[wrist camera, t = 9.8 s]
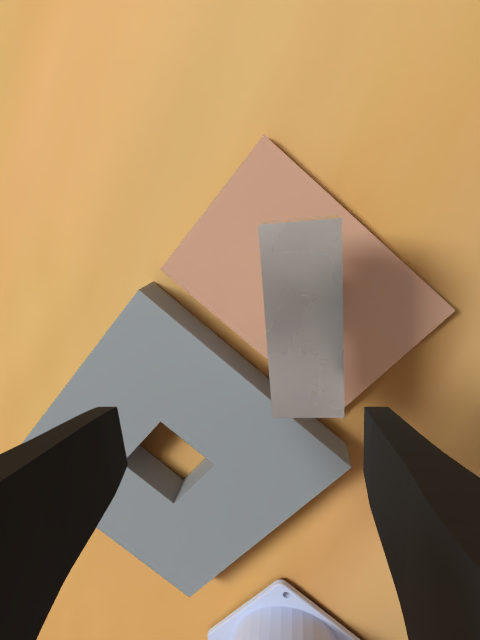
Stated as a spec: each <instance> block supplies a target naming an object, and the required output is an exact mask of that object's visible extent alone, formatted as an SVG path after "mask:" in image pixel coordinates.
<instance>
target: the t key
mask: <svg viewBox="0 0 480 640" xmlns="http://www.w3.org/2000/svg"><path fill="white" fill-rule="evenodd" d="M258 231H259V245H260V258H261V271H262V285H263V298H264V311H265V325H266V338H267V352H268V365H269V378H270V392H271V405H272V418H345V414H344V339H343V263H342V218H341V217H339V216H337V215H327V216H315V217H304V218H292V219H281V220H269V221H264V222H262V223H260V224H259V225H258Z"/></svg>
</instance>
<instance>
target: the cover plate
mask: <svg viewBox="0 0 480 640" xmlns="http://www.w3.org/2000/svg"><path fill="white" fill-rule="evenodd" d="M96 407H117V409H118V414H119V419H120V425H121V430H122V435H123V441H124V446H125V451H126V456H127V462H128V466H127V468H126V471H125V473H124V476H123V478H122V481H121V483H120V485H119V487H118V490H117V492H116V494H115V496H114V498H113V500H112V501H111V503H110V505H109V507H108V508H107V510H106V512H105V513H104V515H103V517H102V518H101V520H100V522H99V524H98V525H97V528H98V529H99V530H101V531H102V532H103V533H105V534H106V535H107V536H109V537H110V538H111V539H113V540H114V541H115V542H117V543H118V544H119V545H121V546H122V547H123V548H125V549H126V550H127V551H129V552H130V553H131V554H133V555H134V556H135V557H137V558H138V559H139V560H140V561H142V562H143V563H144V564H146V565H147V566H148V567H150V568H151V569H152V570H154V571H155V572H156V573H158V574H159V575H160V576H162V577H163V578H164V579H166V580H167V581H168V582H170V583H171V584H172V585H174V586H175V587H176V588H178V589H179V590H180V591H182V592H183V593H184V594H186V595H187V596H188V597H190V596H192V595H193V594H194V593H195V592H197V591H198V590H199V589H200V588H202V587H203V586H204V585H205V584H207V583H208V582H209V581H210V580H212V579H213V578H214V577H215V576H217V575H218V574H219V573H220V572H222V571H223V570H224V569H225V568H227V567H228V566H229V565H230V564H232V563H233V562H234V561H235V560H237V559H238V558H239V557H240V556H242V555H243V554H244V553H245V552H247V551H248V550H249V549H250V548H252V547H253V546H254V545H255V544H257V543H258V542H259V541H260V540H262V539H263V538H264V537H265V536H267V535H268V534H269V533H270V532H272V531H273V530H274V529H275V528H277V527H278V526H279V525H280V524H282V523H283V522H284V521H285V520H287V519H288V518H289V517H290V516H292V515H293V514H294V513H295V512H297V511H298V510H299V509H300V508H302V507H303V506H304V505H305V504H307V503H308V502H309V501H310V500H312V499H313V498H314V497H315V496H317V495H318V494H319V493H320V492H322V491H323V490H324V489H325V488H327V487H328V486H329V485H330V484H332V483H333V482H334V481H335V480H337V479H338V478H339V477H340V476H342V475H343V474H344V473H345V472H347V471H348V470H349V469H350V468H352V467H351V462H350V458H349V453H348V448H347V444H346V443H345V442H344V441H342V440H341V439H340V438H339V437H338V436H336V435H335V434H334V433H333V432H332V431H330V430H329V429H328V428H327V427H326V426H325V425H323V424H322V423H321V422H320V421H319V420H317V419H316V418H272V405H271V392H270V379H269V378H267V377H266V376H265V375H264V374H263V373H262V372H260V371H259V370H258V369H257V368H256V367H254V366H253V365H252V364H251V363H250V362H248V361H247V360H246V359H245V358H244V357H242V356H241V355H240V354H239V353H238V352H237V351H235V350H234V349H233V348H232V347H231V346H229V345H228V344H227V343H226V342H225V341H223V340H222V339H221V338H220V337H219V336H218V335H216V334H215V333H214V332H213V331H212V330H210V329H209V328H208V327H207V326H206V325H204V324H203V323H202V322H201V321H200V320H199V319H197V318H196V317H195V316H194V315H193V314H191V313H190V312H189V311H188V310H187V309H185V308H184V307H183V306H182V305H181V304H179V303H178V302H177V301H176V300H175V299H174V298H172V297H171V296H170V295H169V294H168V293H166V292H165V291H164V290H163V289H162V288H160V287H159V286H158V285H157V284H156V283H155V282H152V283H150V284H148V285H146V286H145V287H143V288H141V289H139V290H138V291H137V293H136V294H135V295H134V297H133V298H132V299H131V301H130V302H129V303H128V305H127V306H126V307H125V309H124V310H123V311H122V313H121V314H120V315H119V316H118V318H117V319H116V320H115V322H114V323H113V324H112V326H111V327H110V328H109V330H108V331H107V332H106V334H105V335H104V336H103V337H102V339H101V340H100V341H99V343H98V344H97V345H96V347H95V348H94V349H93V351H92V352H91V353H90V355H89V356H88V357H87V359H86V360H85V361H84V362H83V364H82V365H81V366H80V368H79V369H78V370H77V372H76V373H75V374H74V376H73V377H72V378H71V380H70V381H69V382H68V384H67V385H66V386H65V387H64V389H63V390H62V391H61V393H60V394H59V395H58V397H57V398H56V399H55V401H54V402H53V403H52V405H51V406H50V407H49V408H48V410H47V411H46V412H45V414H44V415H43V416H42V418H41V419H40V420H39V422H38V423H37V424H36V426H35V427H34V428H33V430H32V431H31V432H30V433H29V435H28V436H27V437H26V439H25V440H24V441H23V443H25V442H27V441H29V440H31V439H33V438H35V437H37V436H39V435H41V434H43V433H45V432H47V431H48V430H50V429H52V428H54V427H56V426H58V425H60V424H62V423H64V422H66V421H68V420H70V419H72V418H74V417H76V416H78V415H80V414H82V413H84V412H86V411H89V410H91V409H94V408H96ZM160 422H162V423H163V424H164V425H165V426H167V427H168V428H169V429H170V430H172V431H173V432H174V433H175V434H177V435H178V436H179V437H180V438H182V439H183V440H184V441H185V442H187V443H188V444H189V445H190V446H192V447H193V448H194V449H195V450H197V451H198V452H199V453H200V454H202V455H203V456H204V457H205V459H204V460H203V461H202V462H201V463H200V464H199V465H198V466H197V467H196V468H195V469H194V470H193V471H192V472H191V473H190V474H189V475H188V476H187V477H186V478H185V479H184V480H183V479H182V478H181V477H180V476H178V475H177V474H176V473H175V472H173V471H172V470H171V469H170V468H168V467H167V466H166V465H164V464H163V463H162V462H161V461H159V460H158V459H157V458H156V457H154V456H153V455H152V454H150V453H149V452H148V451H147V450H145V449H144V448H143V447H142V446H140V445H139V444H140V443H141V442H142V441H143V440H144V439H145V438H146V437H147V436H148V435H149V433H150V432H151V431H152V430H153V429H154V428H155V427H156V426H157V425H158V424H159V423H160ZM23 443H22V444H23Z"/></svg>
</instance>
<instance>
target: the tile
mask: <svg viewBox="0 0 480 640" xmlns="http://www.w3.org/2000/svg"><path fill="white" fill-rule="evenodd" d="M327 215H337V216H339V217H341V218H342V263H343V339H344V408H345V407H346V406H347V405H348V404H349V403H350V402H352V401H353V400H354V399H355V398H356V397H357V396H358V395H360V394H361V393H362V392H363V391H364V390H365V389H366V388H368V387H369V386H370V385H371V384H372V383H373V382H374V381H376V380H377V379H378V378H379V377H380V376H381V375H382V374H384V373H385V372H386V371H387V370H388V369H389V368H390V367H392V366H393V365H394V364H395V363H396V362H397V361H398V360H400V359H401V358H402V357H403V356H404V355H405V354H406V353H408V352H409V351H410V350H411V349H412V348H413V347H414V346H416V345H417V344H418V343H419V342H420V341H421V340H422V339H424V338H425V337H426V336H427V335H428V334H429V333H430V332H432V331H433V330H434V329H435V328H436V327H437V326H438V325H440V324H441V323H442V322H443V321H444V320H445V319H446V318H448V317H449V316H450V315H451V314H452V313H453V312H454V311H456V310H455V309H454V308H453V307H451V306H450V305H449V304H448V303H447V302H446V301H445V300H444V299H443V298H442V297H441V296H439V295H438V294H437V293H436V292H435V291H434V290H433V289H432V288H431V287H430V286H429V285H428V284H426V283H425V282H424V281H423V280H422V279H421V278H420V277H419V276H418V275H417V274H416V273H414V272H413V271H412V270H411V269H410V268H409V267H408V266H407V265H406V264H405V263H404V262H402V261H401V260H400V259H399V258H398V257H397V256H396V255H395V254H394V253H393V252H392V251H390V250H389V249H388V248H387V247H386V246H385V245H384V244H383V243H382V242H381V241H380V240H378V239H377V238H376V237H375V236H374V235H373V234H372V233H371V232H370V231H369V230H368V229H366V228H365V227H364V226H363V225H362V224H361V223H360V222H359V221H358V220H357V219H356V218H354V217H353V216H352V215H351V214H350V213H349V212H348V211H347V210H346V209H345V208H344V207H342V206H341V205H340V204H339V203H338V202H337V201H336V200H335V199H334V198H333V197H332V196H331V195H329V194H328V193H327V192H326V191H325V190H324V189H323V188H322V187H321V186H320V185H319V184H317V183H316V182H315V181H314V180H313V179H312V178H311V177H310V176H309V175H308V174H307V173H305V172H304V171H303V170H302V169H301V168H300V167H299V166H298V165H297V164H296V163H295V162H293V161H292V160H291V159H290V158H289V157H288V156H287V155H286V154H285V153H284V152H283V151H281V150H280V149H279V148H278V147H277V146H276V145H275V144H274V143H273V142H272V141H271V140H269V139H268V138H267V137H266V136H265V135H263V136H262V138H261V139H260V140H259V142H258V143H257V144H256V145H255V147H254V148H253V149H252V151H251V152H250V153H249V155H248V156H247V157H246V159H245V160H244V161H243V162H242V164H241V165H240V166H239V168H238V169H237V170H236V172H235V173H234V174H233V175H232V177H231V178H230V179H229V181H228V182H227V183H226V185H225V186H224V187H223V189H222V190H221V191H220V192H219V194H218V195H217V196H216V198H215V199H214V200H213V202H212V203H211V204H210V205H209V207H208V208H207V209H206V211H205V212H204V213H203V215H202V216H201V217H200V218H199V220H198V221H197V222H196V224H195V225H194V226H193V228H192V229H191V230H190V232H189V233H188V234H187V235H186V237H185V238H184V239H183V241H182V242H181V243H180V245H179V246H178V247H177V248H176V250H175V251H174V252H173V254H172V255H171V256H170V258H169V259H168V260H167V261H166V263H165V264H164V265H163V267H162V268H161V270H162V271H163V272H164V273H165V274H166V275H168V276H169V277H170V278H171V279H172V280H173V281H175V282H176V283H177V284H178V285H179V286H181V287H182V288H183V289H184V290H185V291H186V292H188V293H189V294H190V295H191V296H192V297H194V298H195V299H196V300H197V301H198V302H199V303H201V304H202V305H203V306H204V307H205V308H207V309H208V310H209V311H210V312H211V313H212V314H214V315H215V316H216V317H217V318H218V319H220V320H221V321H222V322H223V323H224V324H225V325H227V326H228V327H229V328H230V329H231V330H233V331H234V332H235V333H236V334H237V335H238V336H240V337H241V338H242V339H243V340H244V341H246V342H247V343H248V344H249V345H250V346H251V347H253V348H254V349H255V350H256V351H257V352H259V353H260V354H261V355H262V356H263V357H264V358H266V359H267V360H268V352H267V338H266V325H265V311H264V298H263V285H262V271H261V258H260V245H259V231H258V225H259V224H260V223H262V222H264V221H269V220H281V219H292V218H304V217H315V216H327Z"/></svg>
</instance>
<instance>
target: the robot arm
mask: <svg viewBox="0 0 480 640" xmlns="http://www.w3.org/2000/svg"><path fill="white" fill-rule="evenodd" d="M127 466H128V462H127V456H126V451H125V446H124V441H123V435H122V430H121V425H120V419H119V414H118V409H117V407H96V408H94V409H91V410H89V411H86V412H84V413H82V414H80V415H78V416H76V417H74V418H72V419H70V420H68V421H66V422H64V423H62V424H60V425H58V426H56V427H54V428H52V429H50V430H48V431H47V432H45V433H43V434H41V435H39V436H37V437H35V438H33V439H31V440H29V441H27V442H25V443H23V444H21V445H19V446H16V447H14V448H12V449H10V450H8V451H6V452H4V453H2V454H0V640H36V639H37V637H38V635H39V632H40V630H41V628H42V626H43V624H44V622H45V620H46V617H47V615H48V613H49V611H50V609H51V607H52V605H53V603H54V601H55V599H56V597H57V595H58V593H59V591H60V589H61V587H62V585H63V583H64V581H65V579H66V577H67V576H68V574H69V572H70V570H71V568H72V567H73V565H74V563H75V562H76V560H77V558H78V557H79V555H80V553H81V552H82V550H83V548H84V547H85V545H86V543H87V542H88V540H89V538H90V537H91V535H92V533H93V532H94V530H95V528H96V527H97V525H98V524H99V522H100V520H101V518H102V517H103V515H104V513H105V512H106V510H107V508H108V507H109V505H110V503H111V501H112V500H113V498H114V496H115V494H116V492H117V490H118V487H119V485H120V483H121V481H122V478H123V476H124V473H125V471H126V468H127ZM363 471H364V476H365V482H366V488H367V493H368V498H369V503H370V507H371V511H372V514H373V517H374V520H375V524H376V527H377V530H378V533H379V537H380V540H381V543H382V546H383V549H384V552H385V556H386V559H387V562H388V565H389V568H390V571H391V575H392V578H393V581H394V584H395V587H396V591H397V594H398V598H399V601H400V605H401V609H402V612H403V617H404V621H405V626H406V630H407V635H408V639H409V640H480V478H479V477H478V476H476V475H475V474H473V473H472V472H470V471H469V470H467V469H466V468H465V467H463V466H462V465H460V464H459V463H457V462H456V461H455V460H453V459H452V458H450V457H449V456H448V455H446V454H445V453H444V452H442V451H441V450H440V449H438V448H437V447H436V446H435V445H433V444H432V443H431V442H429V441H428V440H427V439H426V438H424V437H423V436H422V435H421V434H420V433H418V432H417V431H416V430H415V429H414V428H412V427H411V426H410V425H409V424H408V423H407V422H405V421H404V420H403V419H402V418H401V417H400V416H398V415H397V414H396V413H395V412H394V411H392V410H391V409H390V408H389V407H365V411H364V469H363ZM208 639H209V640H360V639H359V638H358V637H357V636H355V635H354V634H353V633H351V632H350V631H349V630H348V629H346V628H345V627H344V626H343V625H341V624H340V623H339V622H337V621H336V620H335V619H334V618H332V617H331V616H330V615H328V614H327V613H326V612H325V611H323V610H322V609H321V608H319V607H318V606H317V605H316V604H314V603H313V602H312V601H311V600H309V599H308V598H307V597H305V596H304V595H303V594H302V593H300V592H299V591H298V590H296V589H295V588H294V587H293V586H291V585H290V584H289V583H287V582H286V581H284V580H281V579H280V580H276V581H275V582H273V583H272V584H271V585H269V586H268V587H266V588H265V589H264V590H262V591H261V592H260V593H258V594H257V595H256V596H254V597H253V598H252V599H250V600H249V601H247V602H246V603H245V604H243V605H242V606H241V607H239V608H238V609H237V610H235V611H234V612H233V613H231V614H230V615H228V616H227V617H226V618H224V619H223V620H222V621H220V622H219V623H218V624H216V625H215V626H213V627H212V628H211V629H210V630H209V631H208Z"/></svg>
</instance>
